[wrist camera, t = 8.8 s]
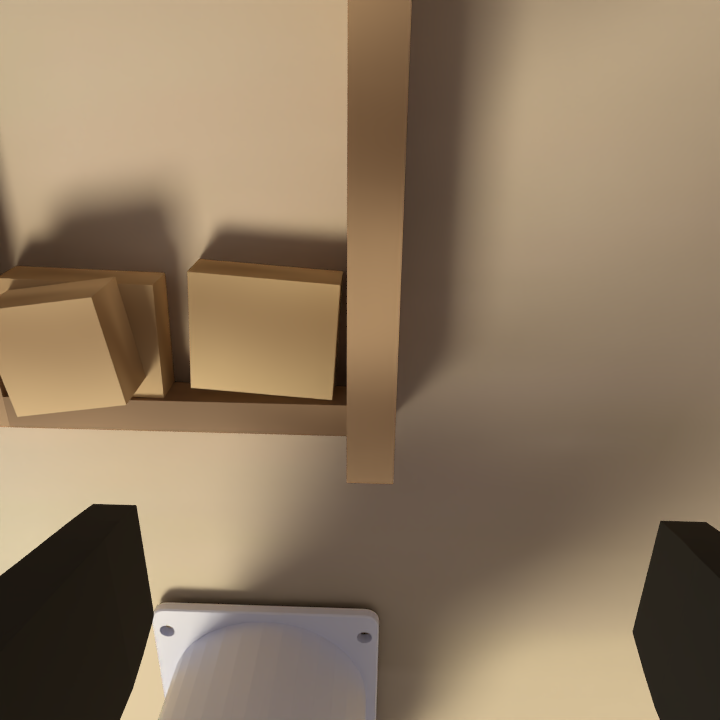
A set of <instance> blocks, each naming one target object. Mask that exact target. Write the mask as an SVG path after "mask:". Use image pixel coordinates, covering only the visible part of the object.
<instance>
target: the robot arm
mask: <svg viewBox="0 0 720 720" xmlns="http://www.w3.org/2000/svg"><path fill="white" fill-rule="evenodd" d="M152 623H153V629H154V635H155V641H156V647H157V653H158V660H159V666H160V672H161V678H162V684H163V690H164V696H165V700H164V703H163V706H162V709H161V712H160V715H159V718H158V720H376V706H377V673H378V641H379V618H378V615H377V614H376V613H375V612H373V611H372V610H368V609H353V608H323V607H293V606H262V605H232V604H202V603H172V602H166V603H161V604H159V605H157V606H156V608H155V610H154V612H153V606H152V599H151V593H150V587H149V581H148V575H147V568H146V562H145V556H144V550H143V544H142V537H141V531H140V525H139V519H138V513H137V506H136V505H108V504H93V505H91V506H90V507H88V508H87V509H86V510H84V511H83V512H82V513H80V514H79V515H78V516H76V517H75V518H74V519H72V520H71V521H70V522H68V523H67V524H66V525H65V526H63V527H62V528H61V529H59V530H58V531H57V532H56V533H54V534H53V535H52V536H51V537H49V538H48V539H47V540H45V541H44V542H43V543H42V544H40V545H39V546H38V547H37V548H35V549H34V550H33V551H32V552H30V553H29V554H28V555H26V556H25V557H24V558H23V559H21V560H20V561H19V562H18V563H16V564H15V565H14V566H12V567H11V568H10V569H8V570H7V571H6V572H5V573H3V574H2V575H1V576H0V720H120V718H121V716H122V713H123V711H124V709H125V706H126V704H127V701H128V699H129V696H130V694H131V692H132V689H133V686H134V683H135V680H136V677H137V673H138V670H139V667H140V664H141V660H142V657H143V654H144V650H145V647H146V643H147V639H148V636H149V632H150V629H151V625H152ZM166 625H167V626H170V627H172V628H170V627H167V626H166ZM362 632H366V633H369V634H361V633H362ZM633 635H634V639H635V642H636V646H637V649H638V653H639V657H640V660H641V664H642V667H643V671H644V674H645V677H646V681H647V684H648V687H649V690H650V693H651V697H652V700H653V703H654V706H655V709H656V711H657V714H658V716H659V718H660V720H720V532H719V531H718V530H717V529H715V528H714V527H712V526H711V525H709V524H708V523H706V522H682V521H660V525H659V529H658V533H657V537H656V541H655V545H654V549H653V553H652V557H651V561H650V564H649V568H648V572H647V576H646V580H645V584H644V588H643V592H642V596H641V600H640V604H639V608H638V612H637V616H636V620H635V624H634V628H633Z"/></svg>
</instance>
